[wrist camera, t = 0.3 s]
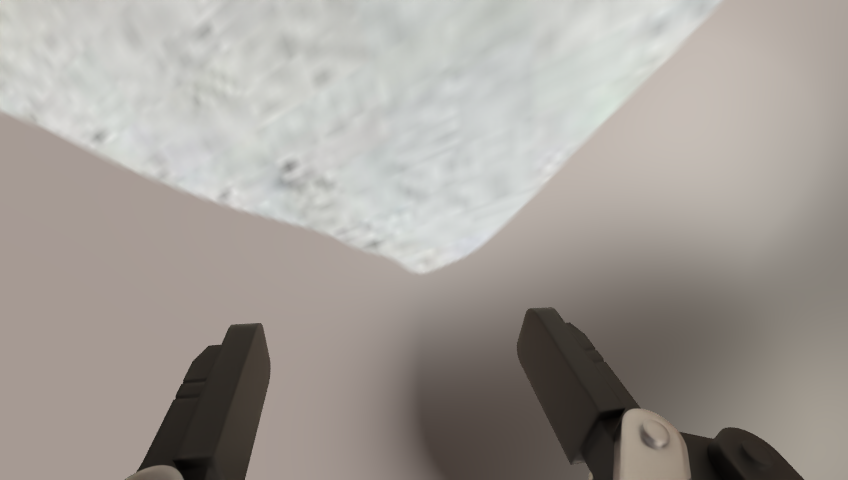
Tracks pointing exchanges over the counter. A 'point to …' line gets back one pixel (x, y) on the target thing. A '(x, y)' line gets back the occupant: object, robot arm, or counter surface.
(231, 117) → the counter surface
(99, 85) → the counter surface
